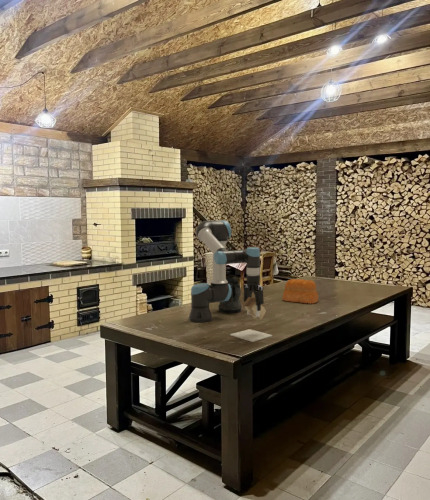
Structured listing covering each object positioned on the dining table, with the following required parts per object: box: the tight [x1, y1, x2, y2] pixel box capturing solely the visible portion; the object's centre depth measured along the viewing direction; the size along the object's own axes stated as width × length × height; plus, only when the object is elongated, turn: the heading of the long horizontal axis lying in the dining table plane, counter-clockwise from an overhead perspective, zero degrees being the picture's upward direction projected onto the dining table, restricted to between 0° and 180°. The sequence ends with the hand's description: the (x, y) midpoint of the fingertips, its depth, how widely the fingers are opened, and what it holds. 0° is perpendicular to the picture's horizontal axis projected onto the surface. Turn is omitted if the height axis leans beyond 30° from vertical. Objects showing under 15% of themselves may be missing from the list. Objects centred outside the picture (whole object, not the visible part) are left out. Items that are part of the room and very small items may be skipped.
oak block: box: [242, 296, 267, 320], centre depth 250 cm, size 6×6×12 cm
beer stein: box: [218, 275, 243, 314], centre depth 311 cm, size 16×19×25 cm
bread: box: [282, 278, 319, 305], centre depth 343 cm, size 16×26×17 cm, turn 56°
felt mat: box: [229, 328, 273, 343], centre depth 249 cm, size 18×16×1 cm
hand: (253, 315), depth 250 cm, fingers closed on oak block, 6 cm apart
